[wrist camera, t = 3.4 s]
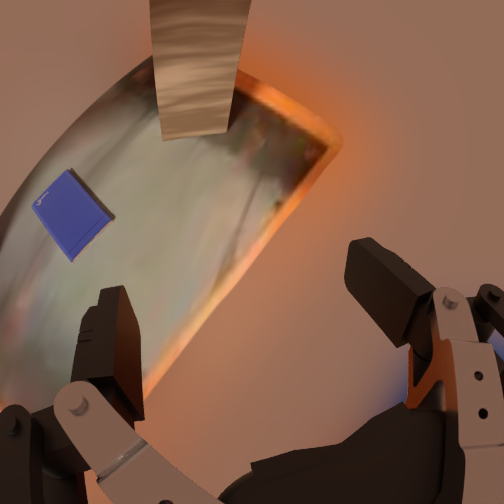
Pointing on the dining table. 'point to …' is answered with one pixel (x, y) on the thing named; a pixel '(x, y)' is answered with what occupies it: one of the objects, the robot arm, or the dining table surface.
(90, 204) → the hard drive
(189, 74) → the stand
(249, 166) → the dining table surface
